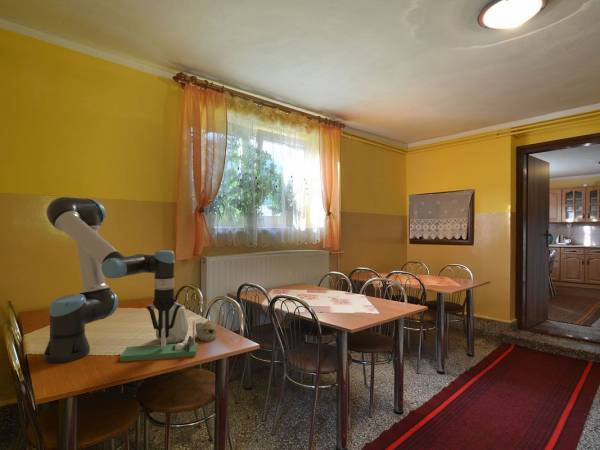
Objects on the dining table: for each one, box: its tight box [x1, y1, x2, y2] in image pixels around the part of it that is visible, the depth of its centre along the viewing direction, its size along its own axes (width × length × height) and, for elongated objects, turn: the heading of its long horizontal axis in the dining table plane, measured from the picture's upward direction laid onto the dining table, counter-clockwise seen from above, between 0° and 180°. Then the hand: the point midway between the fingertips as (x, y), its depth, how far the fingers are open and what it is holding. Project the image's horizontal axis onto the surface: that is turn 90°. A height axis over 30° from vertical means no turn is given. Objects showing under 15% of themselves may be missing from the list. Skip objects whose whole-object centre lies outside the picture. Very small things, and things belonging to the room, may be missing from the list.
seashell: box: [195, 321, 217, 342], centre depth 159 cm, size 10×10×10 cm
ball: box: [175, 342, 185, 351], centre depth 139 cm, size 4×4×4 cm
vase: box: [155, 304, 189, 344], centre depth 155 cm, size 14×14×15 cm
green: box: [119, 320, 198, 362], centre depth 138 cm, size 28×10×12 cm, turn 103°
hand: (163, 345), depth 138 cm, fingers closed
